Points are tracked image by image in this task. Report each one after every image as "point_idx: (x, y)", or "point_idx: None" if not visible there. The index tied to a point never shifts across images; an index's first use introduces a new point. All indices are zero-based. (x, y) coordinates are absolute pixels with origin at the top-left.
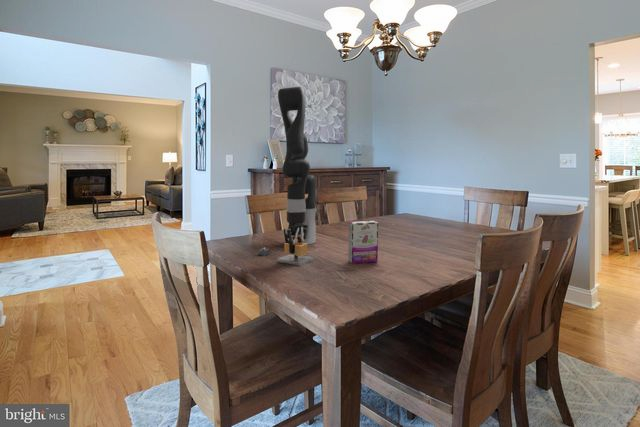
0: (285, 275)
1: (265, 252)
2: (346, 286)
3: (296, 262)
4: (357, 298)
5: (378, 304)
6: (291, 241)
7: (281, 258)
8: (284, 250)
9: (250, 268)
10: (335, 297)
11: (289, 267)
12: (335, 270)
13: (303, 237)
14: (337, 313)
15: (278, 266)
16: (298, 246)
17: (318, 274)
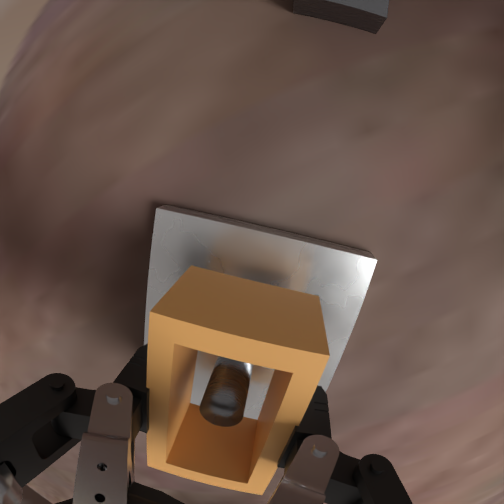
0: (15, 338)
1: (320, 7)
2: (72, 484)
3: None
4: (41, 482)
5: (48, 497)
6: (67, 438)
7: (178, 235)
8: (182, 277)
9: (6, 129)
10: None
11: (96, 329)
12: (175, 489)
13: (335, 500)
14: None
15: (79, 260)
16: (150, 447)
17: None
